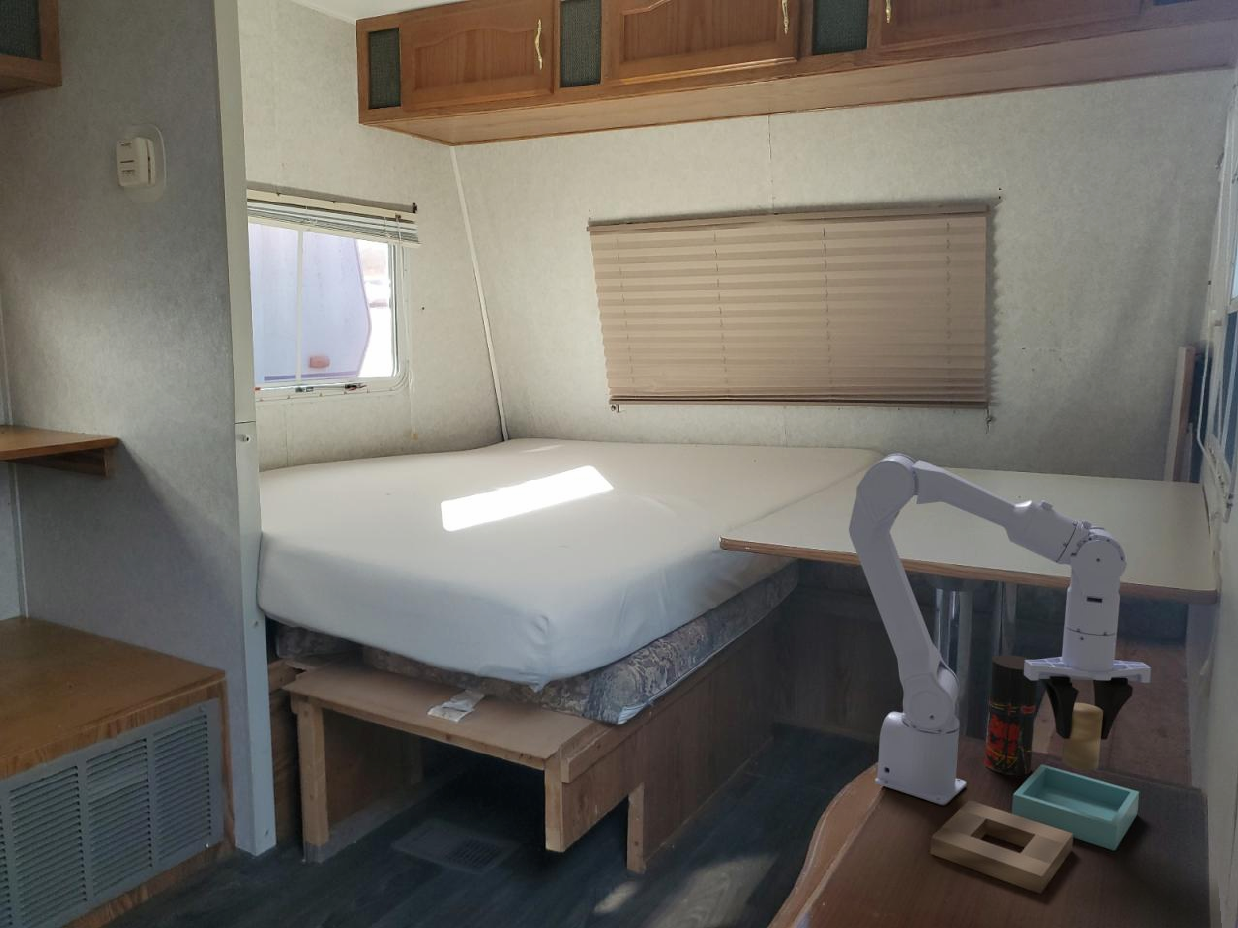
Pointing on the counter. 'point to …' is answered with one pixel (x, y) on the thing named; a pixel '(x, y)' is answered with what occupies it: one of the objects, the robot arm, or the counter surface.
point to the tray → (1077, 805)
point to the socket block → (1020, 869)
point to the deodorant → (1010, 717)
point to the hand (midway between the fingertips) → (1081, 735)
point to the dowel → (1084, 738)
